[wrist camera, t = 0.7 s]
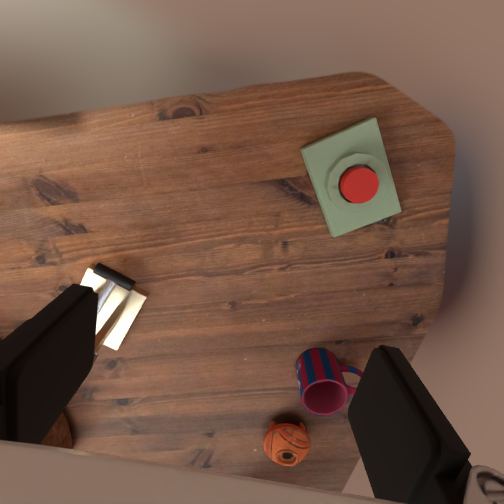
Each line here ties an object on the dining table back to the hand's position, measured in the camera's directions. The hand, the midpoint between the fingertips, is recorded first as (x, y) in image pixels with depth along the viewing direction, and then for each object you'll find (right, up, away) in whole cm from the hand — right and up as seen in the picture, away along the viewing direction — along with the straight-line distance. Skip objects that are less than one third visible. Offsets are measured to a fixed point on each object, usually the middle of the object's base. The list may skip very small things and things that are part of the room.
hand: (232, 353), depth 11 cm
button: (+13, +11, +28) cm, 33 cm away
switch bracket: (-21, -5, +39) cm, 44 cm away
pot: (+6, -27, +47) cm, 55 cm away
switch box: (+13, +13, +31) cm, 36 cm away
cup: (+13, -15, +42) cm, 46 cm away
